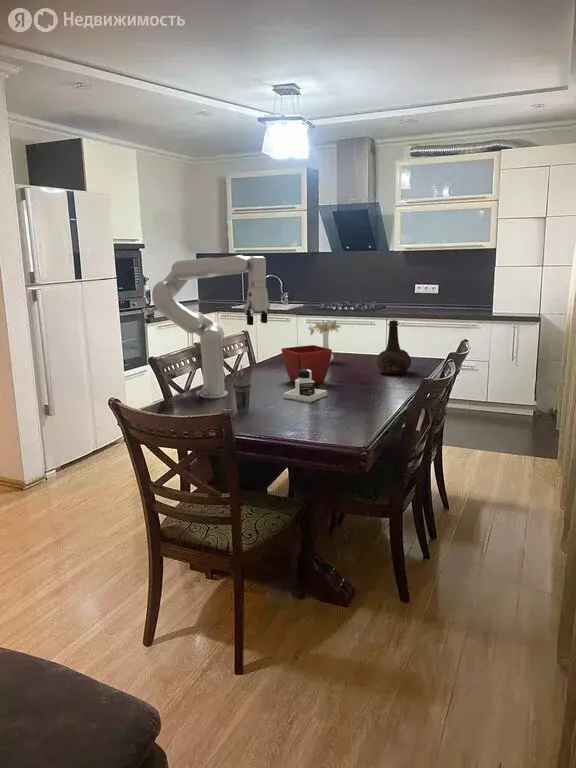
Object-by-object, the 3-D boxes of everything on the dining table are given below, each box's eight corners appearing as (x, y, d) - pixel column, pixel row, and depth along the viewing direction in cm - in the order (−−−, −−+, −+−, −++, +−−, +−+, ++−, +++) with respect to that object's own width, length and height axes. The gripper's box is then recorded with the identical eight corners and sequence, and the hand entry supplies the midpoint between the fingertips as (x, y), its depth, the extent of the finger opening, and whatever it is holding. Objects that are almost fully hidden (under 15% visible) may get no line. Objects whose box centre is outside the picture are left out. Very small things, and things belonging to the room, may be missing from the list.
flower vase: (309, 360, 348) (309, 318, 342) (340, 360, 346) (340, 318, 340) (308, 364, 335) (307, 321, 330) (340, 364, 333) (340, 321, 328)
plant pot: (281, 380, 295) (280, 347, 292) (313, 376, 304) (313, 344, 300) (299, 388, 279) (298, 353, 275) (333, 383, 287) (333, 349, 283)
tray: (309, 402, 251) (309, 396, 251) (283, 398, 260) (283, 392, 259) (326, 395, 262) (326, 390, 262) (301, 392, 271) (301, 386, 270)
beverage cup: (252, 409, 241) (250, 362, 237) (251, 414, 234) (250, 366, 230) (234, 410, 241) (232, 362, 236) (233, 415, 234) (231, 366, 229)
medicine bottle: (299, 398, 257) (299, 371, 254) (295, 394, 263) (294, 368, 261) (314, 397, 258) (314, 370, 256) (310, 393, 265) (309, 367, 262)
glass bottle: (417, 374, 304) (418, 321, 298) (387, 378, 297) (388, 323, 291) (398, 368, 320) (399, 318, 314) (370, 371, 314) (370, 319, 307)
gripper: (251, 286, 247) (251, 326, 250) (276, 284, 260) (275, 322, 264) (237, 285, 251) (238, 325, 255) (262, 284, 264) (262, 321, 268)
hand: (257, 323), depth 259 cm, fingers open, 9 cm apart
